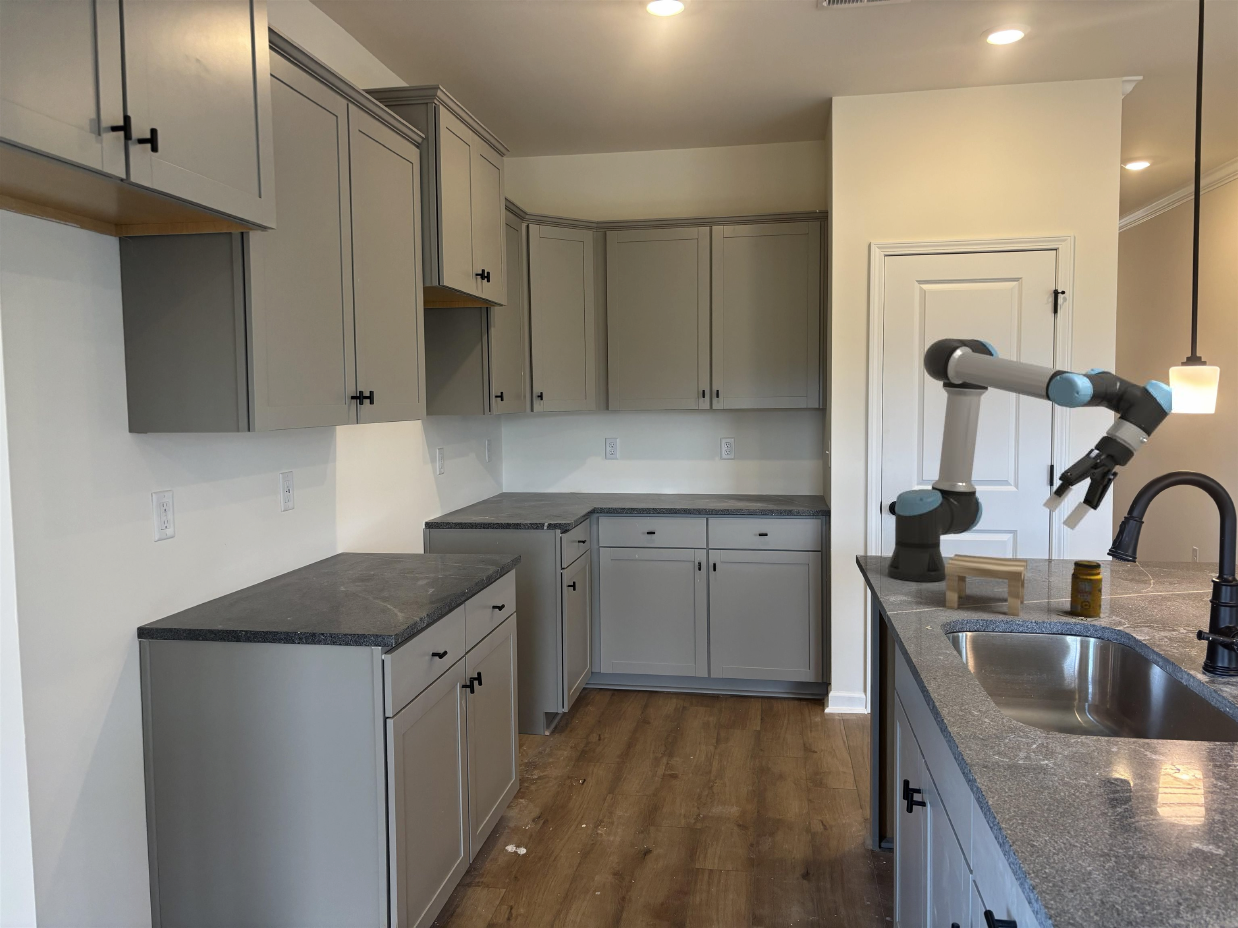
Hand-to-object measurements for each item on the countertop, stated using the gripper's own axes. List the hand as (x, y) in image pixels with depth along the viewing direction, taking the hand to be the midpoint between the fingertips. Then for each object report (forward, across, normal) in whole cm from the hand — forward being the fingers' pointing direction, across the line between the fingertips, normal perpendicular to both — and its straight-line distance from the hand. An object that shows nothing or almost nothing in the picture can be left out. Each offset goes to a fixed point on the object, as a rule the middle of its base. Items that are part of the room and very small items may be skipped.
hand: (1057, 518), depth 191 cm
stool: (+26, 0, 0) cm, 26 cm away
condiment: (+15, +6, -16) cm, 23 cm away
